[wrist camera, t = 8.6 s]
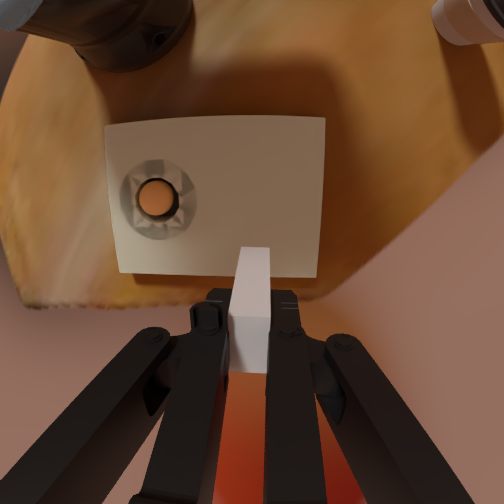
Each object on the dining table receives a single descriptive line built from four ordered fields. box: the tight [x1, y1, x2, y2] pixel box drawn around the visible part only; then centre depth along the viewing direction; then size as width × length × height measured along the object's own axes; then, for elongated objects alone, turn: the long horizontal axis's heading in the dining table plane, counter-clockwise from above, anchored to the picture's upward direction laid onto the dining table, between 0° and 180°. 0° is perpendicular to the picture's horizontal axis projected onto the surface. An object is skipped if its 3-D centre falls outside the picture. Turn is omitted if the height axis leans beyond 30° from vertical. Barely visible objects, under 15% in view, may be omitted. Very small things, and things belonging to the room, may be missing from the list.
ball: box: [139, 180, 174, 216], centre depth 35 cm, size 4×4×4 cm
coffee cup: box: [431, 0, 504, 46], centre depth 19 cm, size 9×9×15 cm
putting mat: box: [104, 115, 326, 278], centre depth 36 cm, size 18×24×3 cm
